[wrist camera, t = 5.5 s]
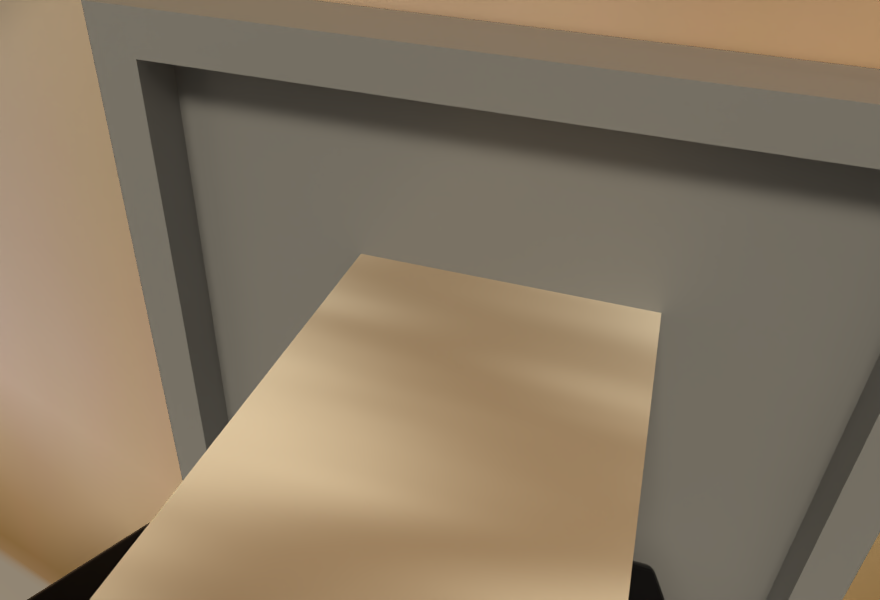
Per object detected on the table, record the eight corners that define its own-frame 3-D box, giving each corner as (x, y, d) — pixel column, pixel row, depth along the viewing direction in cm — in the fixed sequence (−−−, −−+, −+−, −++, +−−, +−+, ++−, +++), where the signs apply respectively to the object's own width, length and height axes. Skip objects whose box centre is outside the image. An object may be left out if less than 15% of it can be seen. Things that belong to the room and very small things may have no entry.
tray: (1052, 90, 7) (1100, 133, 7) (762, 669, 13) (765, 738, 12) (144, -21, 10) (81, -1, 9) (232, 515, 15) (200, 563, 14)
